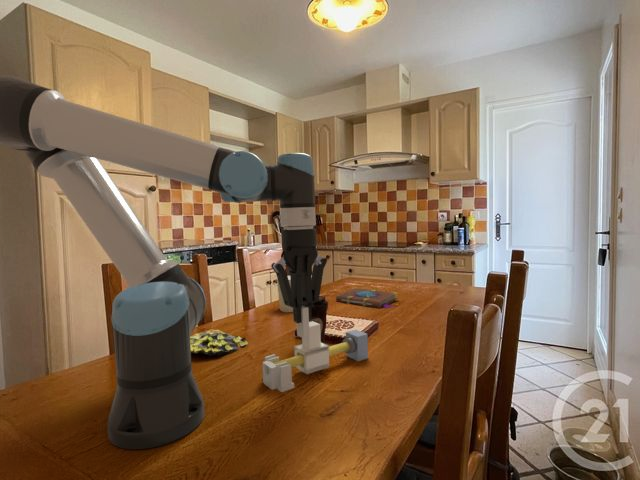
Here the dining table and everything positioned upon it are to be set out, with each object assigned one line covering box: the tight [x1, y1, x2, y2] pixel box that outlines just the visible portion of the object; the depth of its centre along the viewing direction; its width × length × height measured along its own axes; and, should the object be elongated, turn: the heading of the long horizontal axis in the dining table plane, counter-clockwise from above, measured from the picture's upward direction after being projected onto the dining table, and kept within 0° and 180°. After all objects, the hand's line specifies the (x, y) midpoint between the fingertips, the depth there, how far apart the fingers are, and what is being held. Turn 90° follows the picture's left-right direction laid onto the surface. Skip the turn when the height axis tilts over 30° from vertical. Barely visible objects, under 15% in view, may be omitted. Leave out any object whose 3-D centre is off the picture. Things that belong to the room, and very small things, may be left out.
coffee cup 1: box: [276, 275, 293, 313], centre depth 135 cm, size 9×9×12 cm
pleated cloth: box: [190, 328, 249, 357], centre depth 99 cm, size 20×16×6 cm
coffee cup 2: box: [300, 295, 329, 344], centre depth 97 cm, size 9×8×13 cm
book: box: [335, 287, 399, 309], centre depth 144 cm, size 16×25×5 cm, turn 51°
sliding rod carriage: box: [293, 321, 330, 375], centre depth 81 cm, size 6×5×10 cm
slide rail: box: [262, 329, 369, 393], centre depth 82 cm, size 26×8×6 cm, turn 125°
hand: (303, 336), depth 79 cm, fingers closed
